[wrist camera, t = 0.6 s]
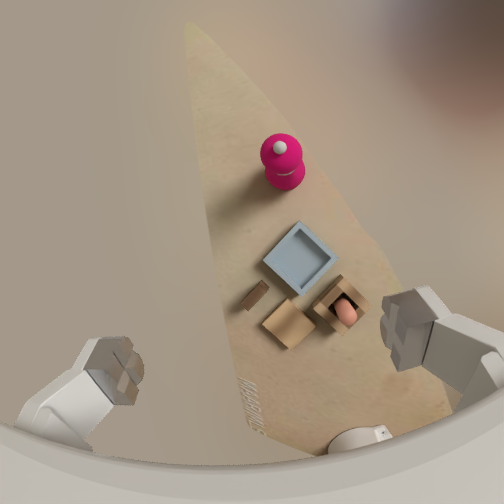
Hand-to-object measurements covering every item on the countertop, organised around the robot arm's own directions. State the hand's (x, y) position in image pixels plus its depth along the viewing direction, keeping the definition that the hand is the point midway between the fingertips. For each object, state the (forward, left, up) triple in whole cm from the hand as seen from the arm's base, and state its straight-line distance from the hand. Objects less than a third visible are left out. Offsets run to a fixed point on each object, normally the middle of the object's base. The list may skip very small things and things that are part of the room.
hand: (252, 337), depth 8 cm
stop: (-1, +11, -48) cm, 49 cm away
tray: (-3, 0, -48) cm, 48 cm away
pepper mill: (+10, -10, -48) cm, 50 cm away
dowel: (-15, +1, -48) cm, 50 cm away
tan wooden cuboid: (-10, +11, -48) cm, 51 cm away
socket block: (-15, +1, -48) cm, 50 cm away
